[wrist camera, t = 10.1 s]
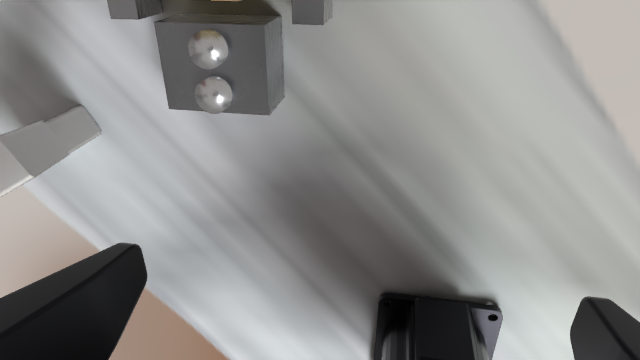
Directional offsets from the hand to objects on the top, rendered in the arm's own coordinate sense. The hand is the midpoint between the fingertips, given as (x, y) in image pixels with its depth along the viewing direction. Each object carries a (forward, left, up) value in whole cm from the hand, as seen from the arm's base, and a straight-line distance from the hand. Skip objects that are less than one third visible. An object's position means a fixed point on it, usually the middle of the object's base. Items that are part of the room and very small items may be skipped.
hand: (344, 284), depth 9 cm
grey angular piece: (-2, +15, -12) cm, 19 cm away
